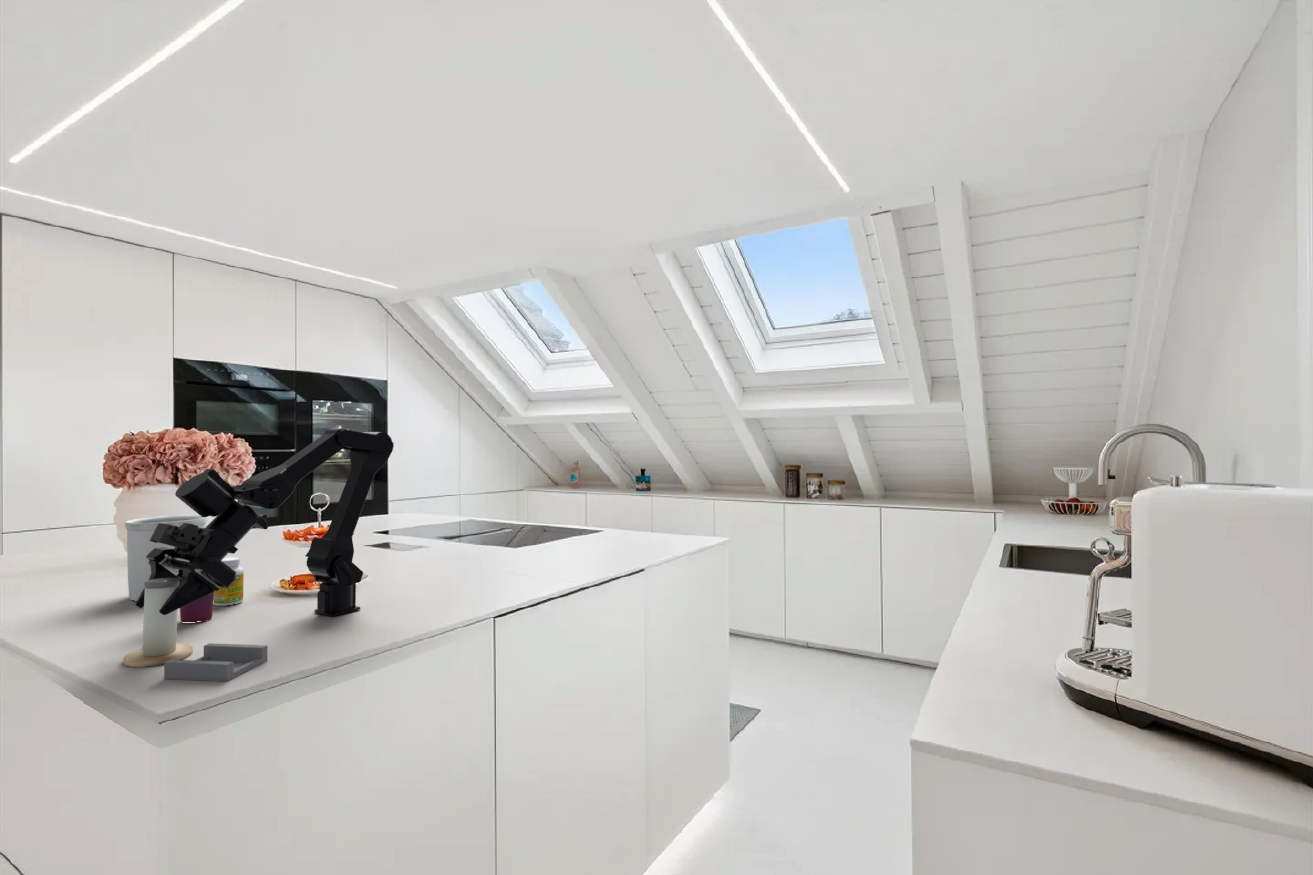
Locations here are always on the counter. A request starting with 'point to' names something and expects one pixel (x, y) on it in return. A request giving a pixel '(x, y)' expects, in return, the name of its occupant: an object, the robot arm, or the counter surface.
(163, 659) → the coaster
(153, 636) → the white jar with lid
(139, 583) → the utensil holder
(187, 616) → the cup
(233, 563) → the supplement bottle
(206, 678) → the socket frame
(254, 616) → the counter surface
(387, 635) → the counter surface
